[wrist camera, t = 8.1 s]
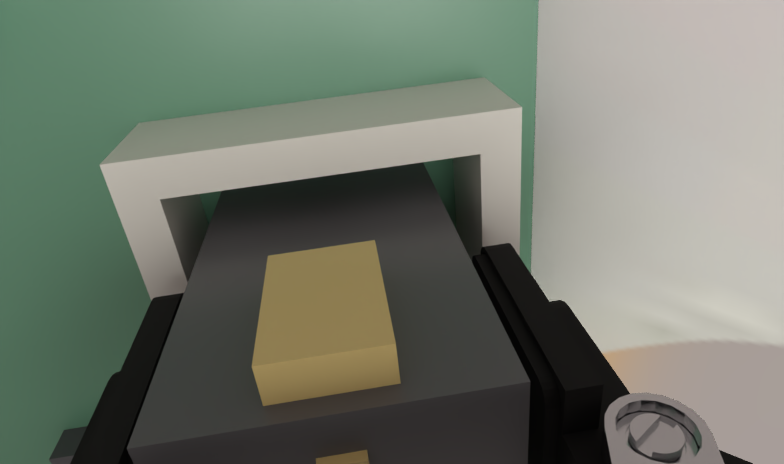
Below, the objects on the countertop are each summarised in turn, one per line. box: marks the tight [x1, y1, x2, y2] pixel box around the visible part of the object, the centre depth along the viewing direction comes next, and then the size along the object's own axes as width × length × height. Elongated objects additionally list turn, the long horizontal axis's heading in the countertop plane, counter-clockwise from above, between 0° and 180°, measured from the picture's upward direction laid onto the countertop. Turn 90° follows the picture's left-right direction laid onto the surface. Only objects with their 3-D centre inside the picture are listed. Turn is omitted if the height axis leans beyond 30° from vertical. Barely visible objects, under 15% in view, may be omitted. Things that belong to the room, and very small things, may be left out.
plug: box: [127, 162, 530, 464], centre depth 10 cm, size 5×4×7 cm
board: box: [0, 0, 538, 464], centre depth 13 cm, size 22×16×4 cm
